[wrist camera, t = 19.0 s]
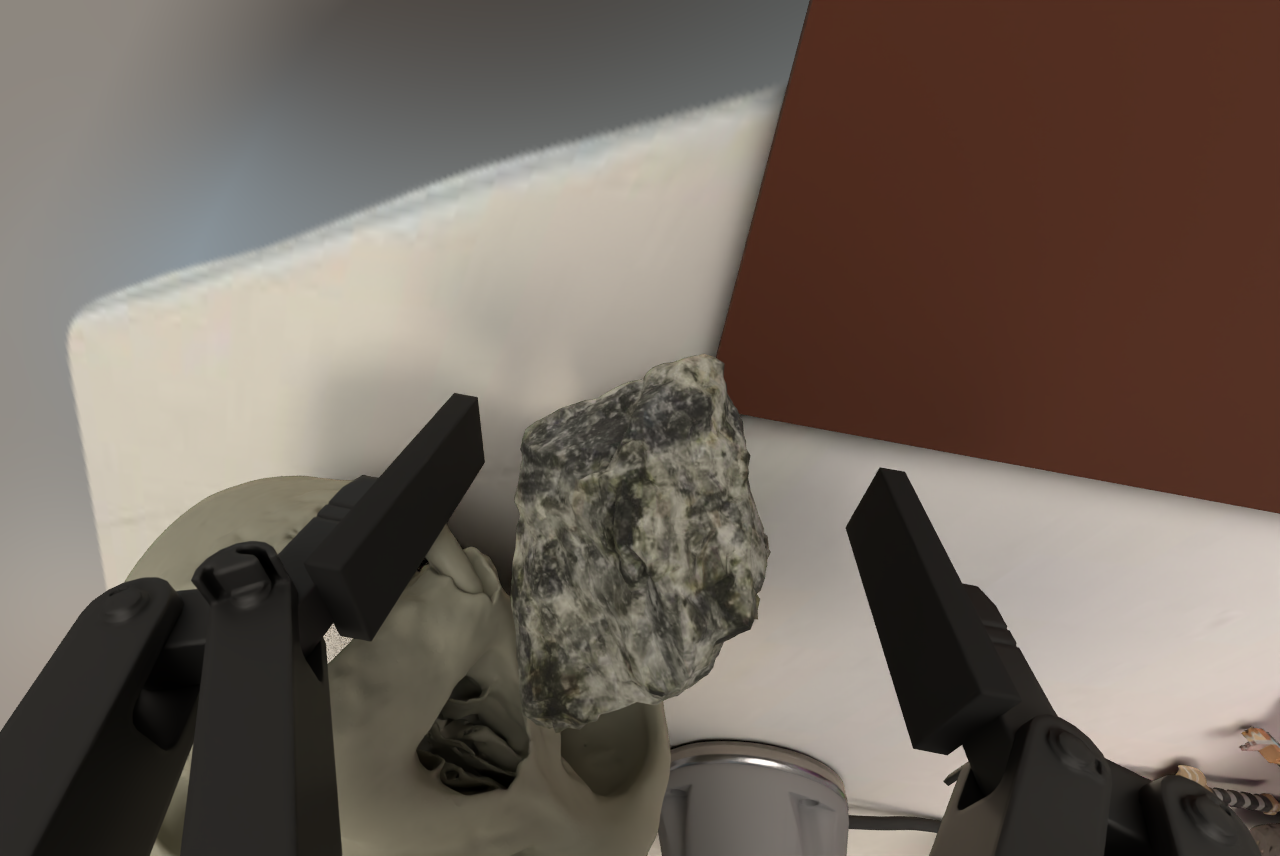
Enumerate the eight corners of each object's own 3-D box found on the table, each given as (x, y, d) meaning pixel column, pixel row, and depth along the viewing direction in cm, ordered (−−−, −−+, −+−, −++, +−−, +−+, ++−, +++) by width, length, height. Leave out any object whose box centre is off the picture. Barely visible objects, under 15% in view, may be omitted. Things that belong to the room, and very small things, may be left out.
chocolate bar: (864, -197, 8) (851, -172, 9) (704, 407, 16) (704, 393, 17) (2436, 45, 8) (2271, 51, 9) (1475, 549, 16) (1438, 527, 17)
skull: (412, 643, 38) (400, 343, 21) (638, 784, 34) (826, 553, 18) (124, 960, 23) (-623, 758, 7) (475, 1264, 19) (714, 2386, 3)
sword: (935, 783, 31) (955, 740, 29) (929, 766, 32) (948, 723, 30) (1257, 835, 28) (1308, 792, 26) (1241, 815, 29) (1288, 771, 27)
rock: (694, 351, 21) (488, 337, 14) (895, 368, 15) (703, 358, 8) (671, 594, 23) (482, 684, 16) (838, 694, 17) (649, 901, 10)
